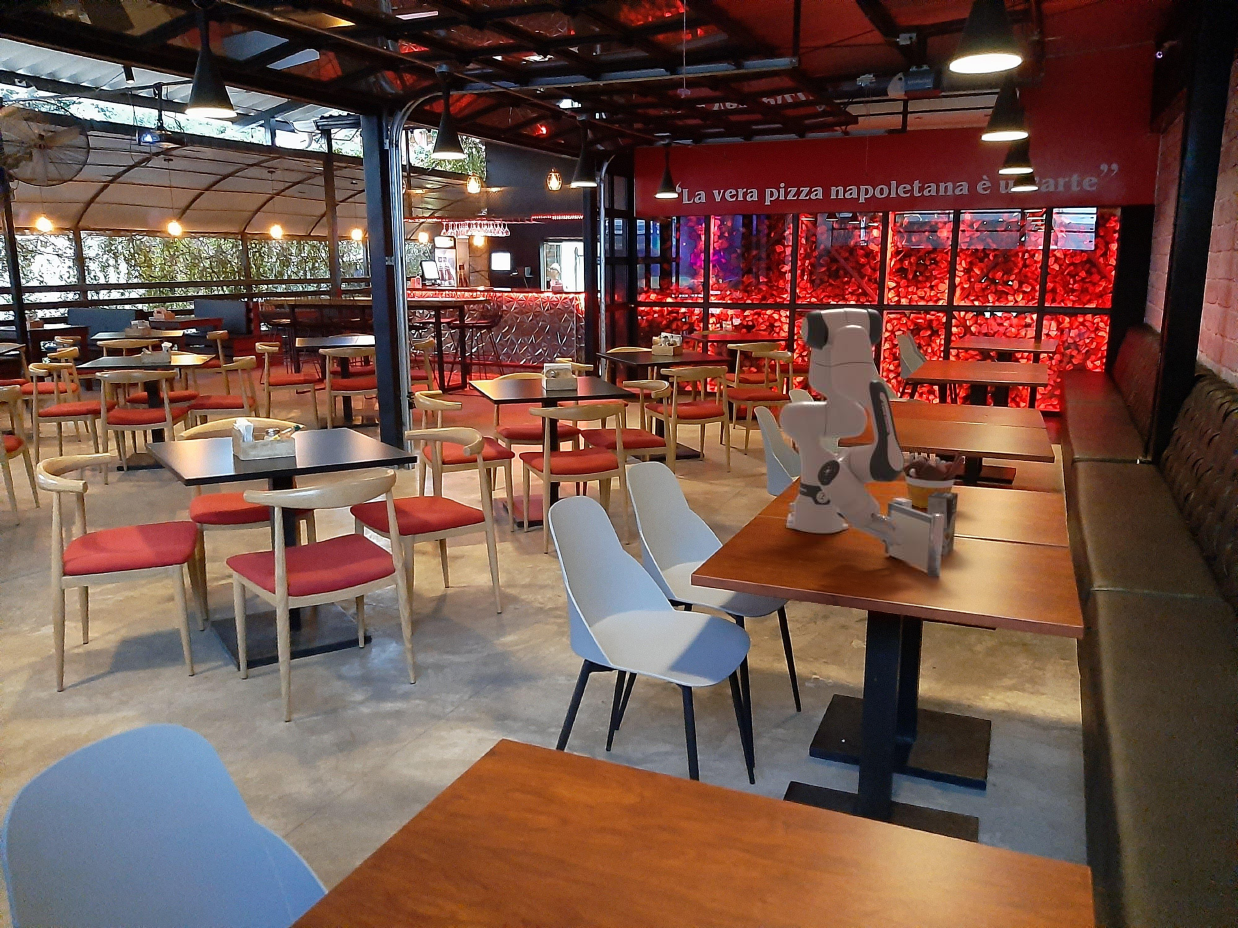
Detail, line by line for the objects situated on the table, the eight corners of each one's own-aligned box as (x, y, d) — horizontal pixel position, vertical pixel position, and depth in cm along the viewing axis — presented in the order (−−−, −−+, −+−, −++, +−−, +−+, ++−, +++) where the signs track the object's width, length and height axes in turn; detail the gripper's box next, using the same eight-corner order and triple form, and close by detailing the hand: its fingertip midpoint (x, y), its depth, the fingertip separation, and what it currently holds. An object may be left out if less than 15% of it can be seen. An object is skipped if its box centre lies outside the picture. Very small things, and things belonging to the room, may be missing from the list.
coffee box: (947, 555, 248) (951, 499, 245) (923, 552, 251) (927, 496, 248) (953, 548, 256) (958, 492, 253) (930, 544, 259) (934, 490, 256)
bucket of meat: (896, 508, 302) (900, 450, 299) (901, 498, 317) (905, 442, 314) (960, 514, 295) (965, 454, 291) (961, 504, 310) (966, 447, 306)
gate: (931, 569, 232) (935, 516, 229) (926, 570, 231) (930, 517, 229) (889, 551, 248) (892, 502, 245) (884, 552, 247) (888, 502, 244)
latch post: (907, 558, 245) (911, 500, 242) (898, 559, 244) (902, 501, 241) (898, 554, 249) (902, 497, 246) (889, 555, 248) (893, 498, 245)
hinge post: (925, 573, 232) (930, 513, 229) (937, 573, 232) (942, 513, 229) (929, 577, 229) (933, 516, 226) (941, 577, 229) (946, 516, 226)
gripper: (895, 510, 225) (923, 544, 230) (846, 493, 244) (873, 525, 249) (879, 529, 224) (908, 562, 230) (831, 510, 243) (859, 542, 248)
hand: (889, 543), depth 240 cm, fingers closed
